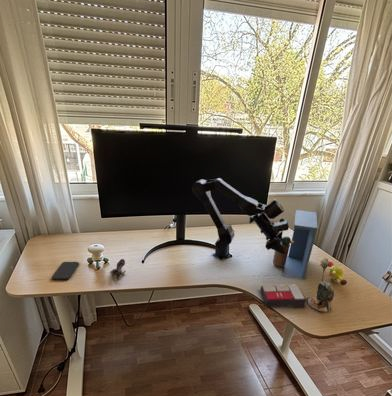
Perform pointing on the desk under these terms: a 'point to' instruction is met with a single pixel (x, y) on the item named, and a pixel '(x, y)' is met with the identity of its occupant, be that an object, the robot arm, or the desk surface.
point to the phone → (65, 271)
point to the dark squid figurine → (119, 269)
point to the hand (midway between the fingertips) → (284, 250)
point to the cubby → (301, 244)
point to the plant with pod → (322, 293)
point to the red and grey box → (282, 295)
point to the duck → (281, 258)
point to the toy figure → (336, 273)
